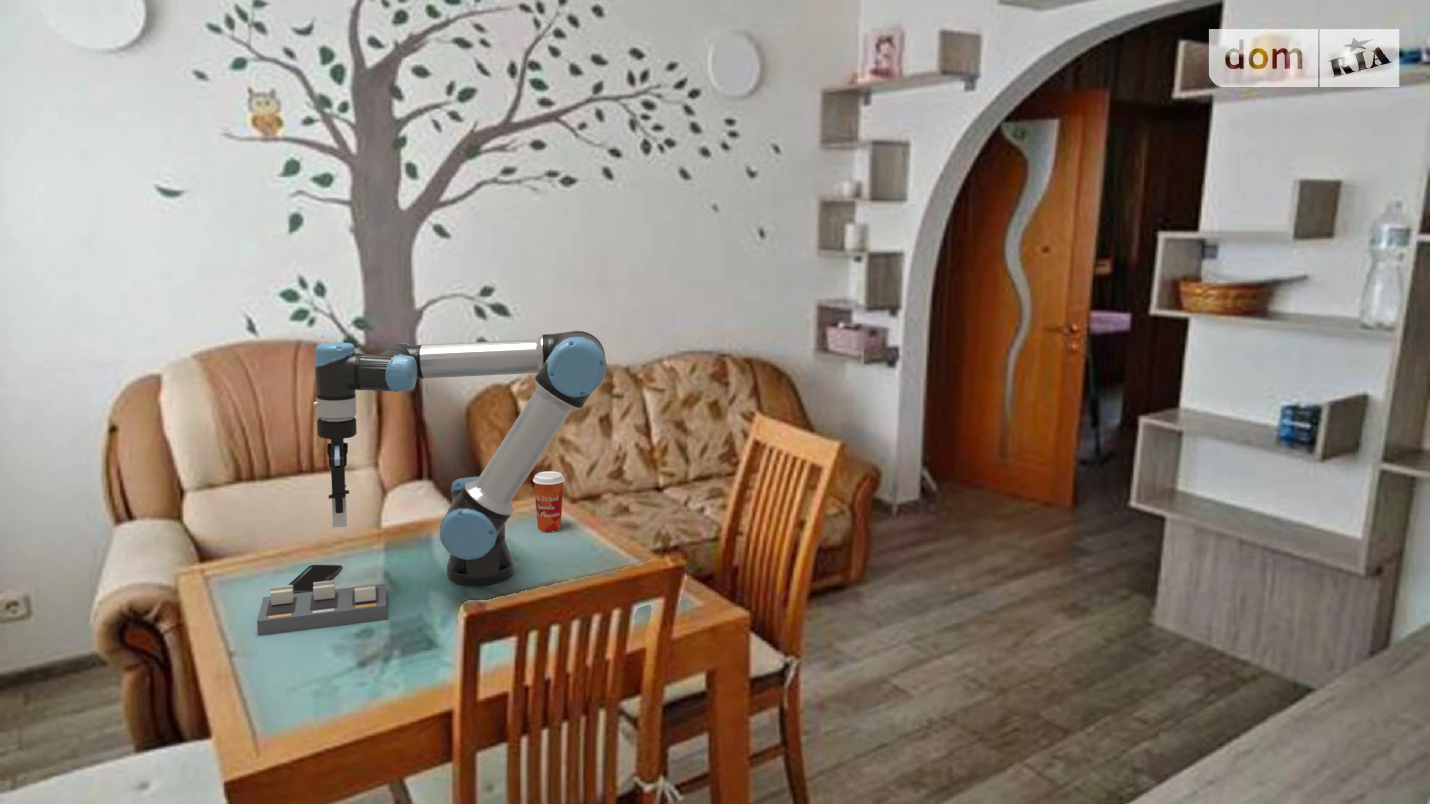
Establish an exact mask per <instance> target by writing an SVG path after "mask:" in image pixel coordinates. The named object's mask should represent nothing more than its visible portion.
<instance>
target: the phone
mask: <svg viewBox="0 0 1430 804" xmlns="http://www.w3.org/2000/svg"><path fill="white" fill-rule="evenodd" d="M343 568H344V567H343V565H341V564H311V565H309V566H307V567H306V568H305V569H304V570H303V571H302V572H301V573H299V574H298V575H297V577H295V578H294V579H293V580H292V581H291V582H290V583H288V585H293V592H294V594H296V593H305V592H313V582H321V581H331V580H334V579H335V578H336V577H337V576H338V575H339V574H340V573H341V572H342V571H343V570H344V569H343ZM342 569H343V570H342ZM341 570H342V571H341ZM339 572H340V573H339Z"/></svg>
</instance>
